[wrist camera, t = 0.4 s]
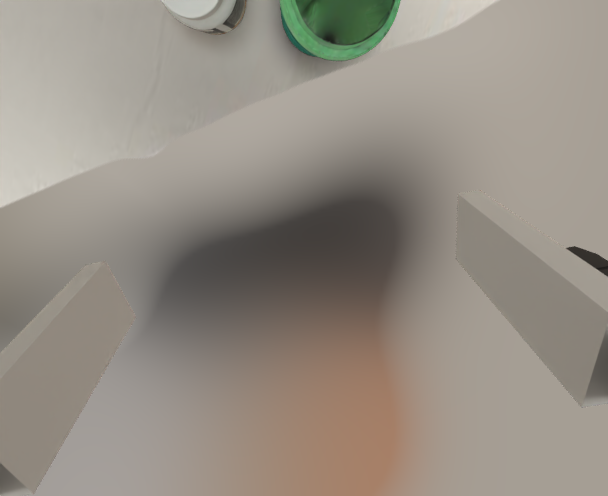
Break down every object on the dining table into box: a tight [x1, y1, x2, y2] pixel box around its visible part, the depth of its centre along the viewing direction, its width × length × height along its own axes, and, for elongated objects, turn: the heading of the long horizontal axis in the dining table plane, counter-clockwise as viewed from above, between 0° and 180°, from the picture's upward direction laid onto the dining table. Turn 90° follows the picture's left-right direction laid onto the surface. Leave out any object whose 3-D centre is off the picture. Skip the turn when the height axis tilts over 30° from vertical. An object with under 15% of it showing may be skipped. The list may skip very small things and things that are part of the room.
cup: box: [280, 0, 400, 61], centre depth 26 cm, size 8×8×12 cm
